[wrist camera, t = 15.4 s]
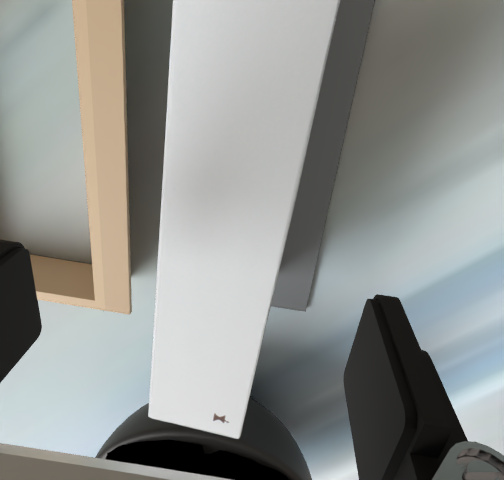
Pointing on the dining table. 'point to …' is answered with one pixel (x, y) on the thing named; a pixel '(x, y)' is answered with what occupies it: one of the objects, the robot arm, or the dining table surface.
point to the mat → (322, 155)
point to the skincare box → (229, 194)
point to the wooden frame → (98, 168)
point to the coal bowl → (210, 447)
